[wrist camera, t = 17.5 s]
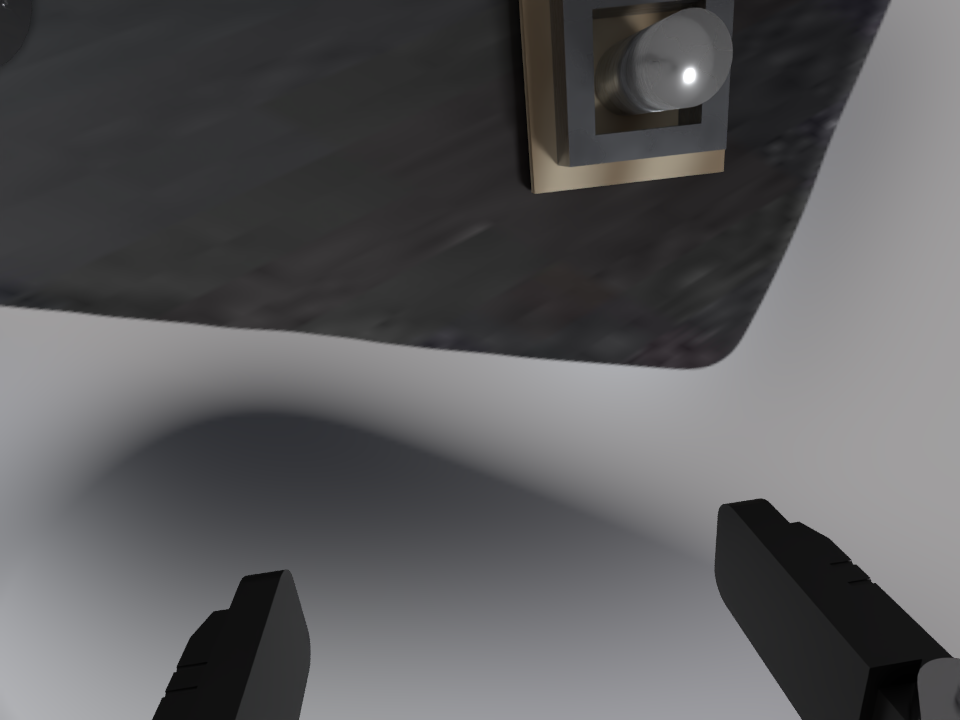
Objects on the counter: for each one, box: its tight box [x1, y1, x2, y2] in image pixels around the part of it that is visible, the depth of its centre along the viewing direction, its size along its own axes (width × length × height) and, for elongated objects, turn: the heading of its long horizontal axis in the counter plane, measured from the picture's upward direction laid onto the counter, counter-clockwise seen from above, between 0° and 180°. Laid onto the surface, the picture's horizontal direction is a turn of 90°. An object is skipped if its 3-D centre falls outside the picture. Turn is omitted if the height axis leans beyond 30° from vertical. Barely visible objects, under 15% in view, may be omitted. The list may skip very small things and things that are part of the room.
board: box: [519, 0, 725, 194], centre depth 33 cm, size 12×12×1 cm
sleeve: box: [549, 0, 734, 167], centre depth 31 cm, size 9×9×3 cm
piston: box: [594, 8, 733, 116], centre depth 29 cm, size 4×4×8 cm
